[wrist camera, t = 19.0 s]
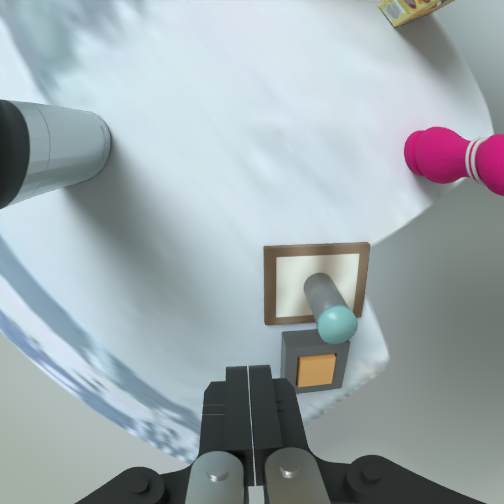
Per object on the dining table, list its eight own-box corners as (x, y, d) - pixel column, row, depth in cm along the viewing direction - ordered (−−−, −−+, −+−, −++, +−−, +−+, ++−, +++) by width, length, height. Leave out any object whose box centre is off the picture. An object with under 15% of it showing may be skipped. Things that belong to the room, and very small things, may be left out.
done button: (294, 370, 45) (298, 387, 42) (295, 344, 44) (300, 361, 40) (325, 366, 46) (331, 383, 42) (328, 341, 44) (335, 357, 40)
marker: (303, 302, 41) (319, 346, 32) (302, 274, 40) (319, 314, 30) (333, 298, 41) (356, 340, 32) (333, 270, 40) (358, 307, 30)
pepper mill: (411, 186, 38) (518, 225, 19) (392, 137, 35) (504, 144, 16) (447, 167, 37) (554, 193, 18) (430, 120, 35) (541, 121, 16)
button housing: (280, 377, 47) (283, 394, 43) (281, 331, 44) (285, 348, 40) (334, 371, 47) (341, 387, 43) (341, 326, 44) (349, 341, 40)
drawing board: (264, 321, 43) (265, 325, 42) (263, 246, 39) (264, 248, 38) (358, 313, 43) (361, 317, 42) (367, 242, 40) (370, 244, 39)
